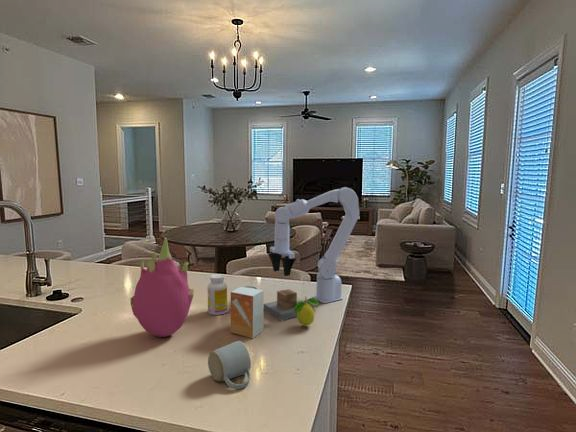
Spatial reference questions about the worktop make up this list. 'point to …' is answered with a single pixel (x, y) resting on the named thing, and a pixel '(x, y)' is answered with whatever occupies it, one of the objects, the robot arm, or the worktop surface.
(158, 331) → the pink dragon fruit
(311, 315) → the lemon
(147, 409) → the worktop surface
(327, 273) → the robot arm
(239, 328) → the small box
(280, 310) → the slate tile
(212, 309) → the supplement bottle
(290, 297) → the walnut block
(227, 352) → the ceramic mug
